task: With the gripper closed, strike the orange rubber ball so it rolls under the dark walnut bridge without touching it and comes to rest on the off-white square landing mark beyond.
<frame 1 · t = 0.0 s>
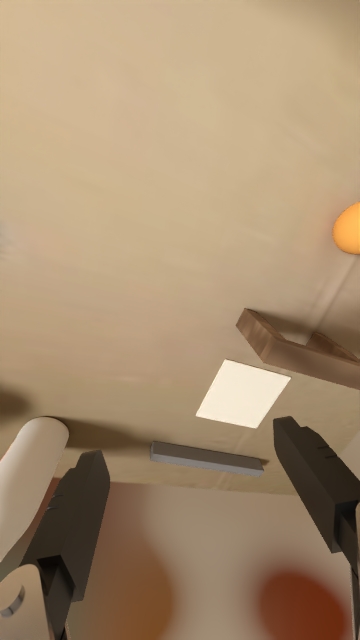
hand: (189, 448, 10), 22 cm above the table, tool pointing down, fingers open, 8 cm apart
landing mark: (241, 396, 39), on the table
bridge: (281, 330, 34), on the table
milk bottle: (48, 430, 39), on the table
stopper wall: (207, 453, 45), on the table
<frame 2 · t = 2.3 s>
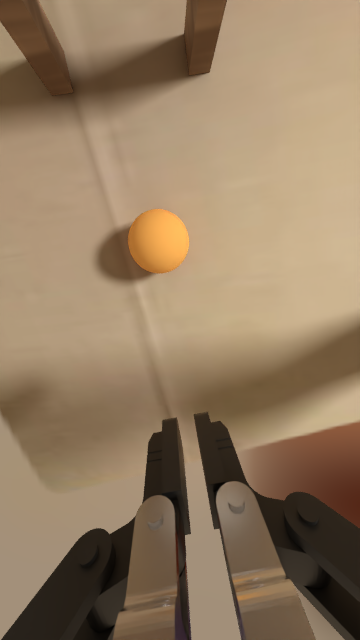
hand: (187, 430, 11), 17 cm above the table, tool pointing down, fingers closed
bridge: (127, 63, 20), on the table
ball: (158, 242, 22), on the table
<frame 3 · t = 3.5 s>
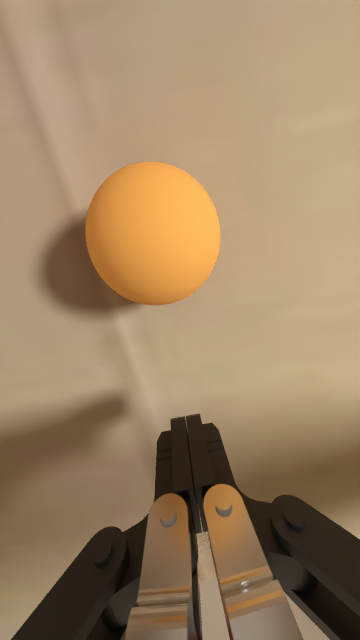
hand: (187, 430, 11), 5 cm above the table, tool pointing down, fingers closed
ball: (155, 241, 10), on the table
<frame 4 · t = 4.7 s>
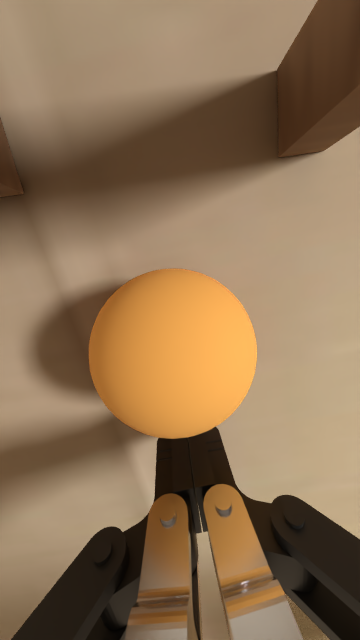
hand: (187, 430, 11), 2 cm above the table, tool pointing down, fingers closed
bridge: (146, 133, 9), on the table
ball: (173, 349, 8), on the table
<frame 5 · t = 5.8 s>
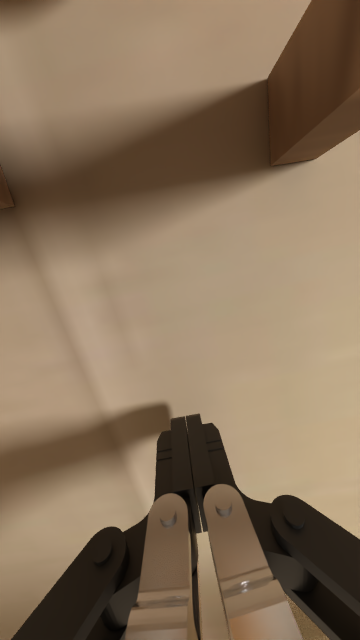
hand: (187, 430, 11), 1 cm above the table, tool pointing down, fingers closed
bridge: (136, 144, 9), on the table
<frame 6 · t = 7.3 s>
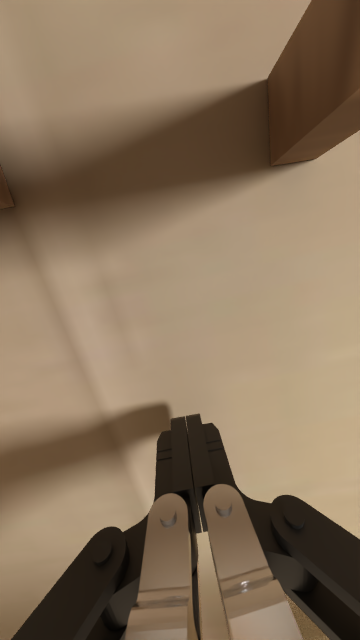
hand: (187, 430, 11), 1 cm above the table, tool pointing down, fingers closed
bridge: (136, 144, 9), on the table
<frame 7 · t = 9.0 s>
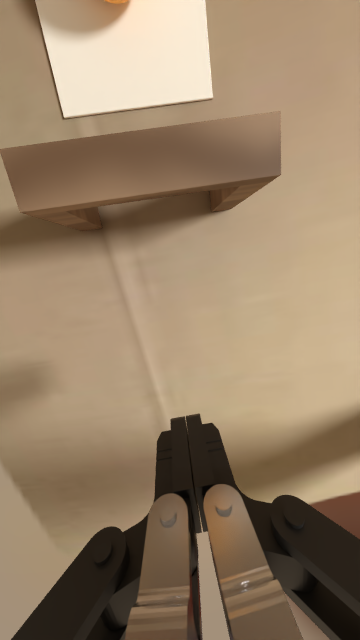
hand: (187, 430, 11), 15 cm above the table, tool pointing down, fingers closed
landing mark: (122, 7, 17), on the table
bridge: (154, 203, 21), on the table
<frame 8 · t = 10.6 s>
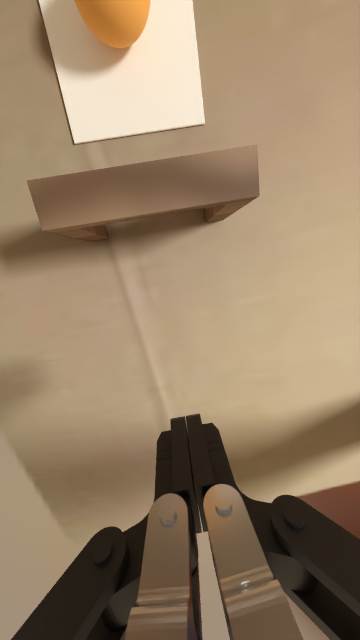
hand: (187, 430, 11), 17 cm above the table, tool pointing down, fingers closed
landing mark: (125, 49, 20), on the table
bridge: (154, 215, 24), on the table
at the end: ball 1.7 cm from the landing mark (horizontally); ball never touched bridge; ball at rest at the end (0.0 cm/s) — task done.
